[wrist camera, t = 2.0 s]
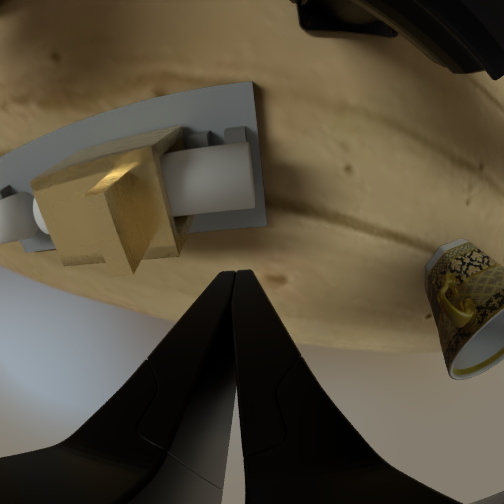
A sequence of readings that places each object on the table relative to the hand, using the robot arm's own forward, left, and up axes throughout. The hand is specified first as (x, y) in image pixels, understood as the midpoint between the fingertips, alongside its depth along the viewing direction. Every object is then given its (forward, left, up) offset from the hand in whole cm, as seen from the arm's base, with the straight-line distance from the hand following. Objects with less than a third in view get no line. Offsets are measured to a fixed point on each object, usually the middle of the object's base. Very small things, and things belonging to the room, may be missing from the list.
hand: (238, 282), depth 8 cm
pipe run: (+11, 0, -13) cm, 17 cm away
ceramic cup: (-17, +11, -13) cm, 24 cm away
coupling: (+8, 0, -12) cm, 14 cm away
